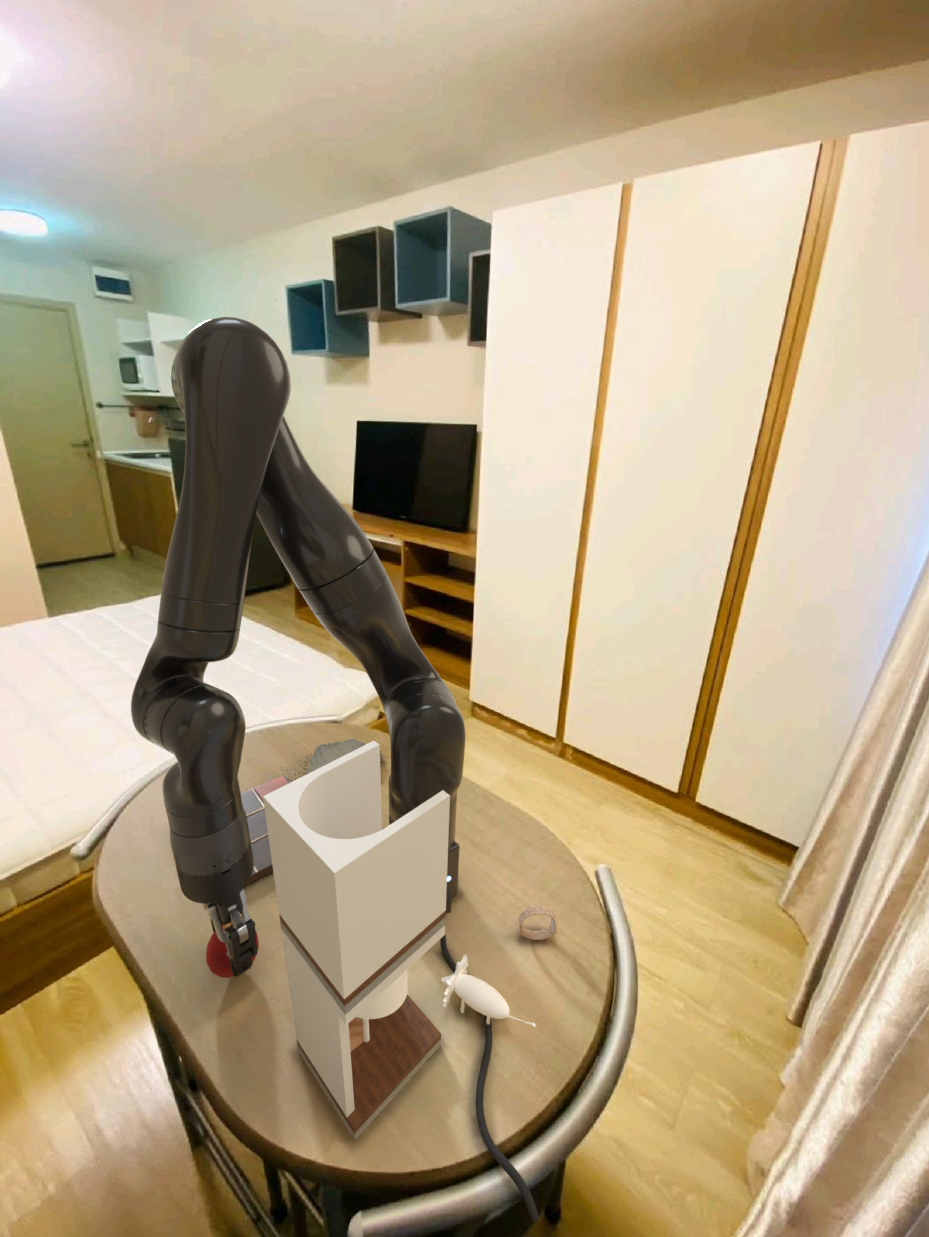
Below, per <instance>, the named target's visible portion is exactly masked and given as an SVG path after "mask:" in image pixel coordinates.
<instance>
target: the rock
mask: <svg viewBox="0 0 929 1237" xmlns="http://www.w3.org/2000/svg"><path fill="white" fill-rule="evenodd" d="M366 744H367V743H366V742H362V741H359V740H357V739H355V738H351V739H346V740H344V741H334V742H328V743H325V744H324V743H321V744H319V745H317V746H316V747H315V748H314V751H313V755H312V756H311V757H310V759H309V765H308V766H307V768H306V771H305V775H307V774H309V773H311V772H313V771H315V770H317V769H319V768H321V767H322V766H324V765H326V764H328V763H330V762H332V761H334V760H336V759H338V758H340V757H342V756H344V755H346V754H348V753H350V752H352V751H354V750H356V749H358V748H360V747H362V746H364V745H366ZM381 752H382V751H381V749H380V763H381V762H382V761H383V754H381Z"/></svg>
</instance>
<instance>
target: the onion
mask: <svg viewBox="0 0 929 1237" xmlns="http://www.w3.org/2000/svg"><path fill="white" fill-rule="evenodd" d="M231 925H232V922H230V923H228V924H226V925H221V927H222V929H225V928H227V927H229V926H231ZM256 941H257V949H258V950H257V952H258V951H259V947H260V943H259V935H258V933H257V931H256ZM226 952H227V950H226V946H225V943H224V942H221V941H220V940H219V938H218V937H217V934H216V931H215V932H213V933H212V934H211V935H210V937H209V940H208V942H207V944H206V951H205V962H206V964H207V967H208V968H209V970H210V972H211V973H212V974H213V975H215V976H217V977H219V978H225V979H231V978H235V977H234V976H233V974H232V971H231V967H230V962H229V957H227V954H226ZM258 953H259V952H258ZM256 957H257V955H255V956H254V957H252V963H254V961H255V959H256Z"/></svg>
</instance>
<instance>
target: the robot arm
mask: <svg viewBox="0 0 929 1237" xmlns="http://www.w3.org/2000/svg"><path fill="white" fill-rule="evenodd" d="M291 381H292V380H291V372H290V370H289V365H288V361H287V360H286V358H285V356H284V353H283V352H282V350H281V349H280V347H279V346H278V344H277V343H276V341H275V340H274V339H273V338H272V337H271V336H270V335H269V334H268V332H266V331H265V330H263V329H262V328H260V327H259V326H258V325H256V324H254V323H253V322H251V321H248V320H246V319H242V318H239V317H233V316H221V317H214V318H211V319H208V320H205V321H203V322H201V323H199V324H198V325H197V326H195V327H194V328H192V329H191V330H190V331H189V332H188V333H187V335H186V336H184V337H183V339H182V341H181V343H180V344H179V346H178V349H177V350H176V355H175V356H174V358H173V362H172V366H171V373H170V382H171V389H172V393H173V395H174V399H175V402H176V403H177V405H178V407H179V408H180V410H181V412H182V413H183V415H184V433H185V452H184V467H183V478H182V485H181V492H180V496H179V502H178V508H177V511H176V515H175V516H176V517H175V521H174V524H173V529H172V533H171V536H170V541H169V546H168V550H167V555H166V558H165V559H166V560H165V565H164V569H163V575H162V576H163V577H162V582H161V583H162V584H161V590H160V600H159V608H158V614H157V615H158V616H157V619H158V620H157V625H156V626H157V627H156V634H155V637H154V640H153V642H152V644H151V646H150V648H149V650H148V652H147V655H146V657H145V659H144V662H143V665H142V667H141V670H140V672H139V675H138V676H137V679H136V681H135V684H134V687H133V691H132V694H131V698H130V713H131V720H132V724H133V726H134V728H135V730H136V732H137V734H139V736H141V737H142V738H143V739H144V740H146V741H148V742H149V743H152V744H154V745H155V746H157V747H159V748H161V749H162V750H165V751H166V752H168V753H170V754H171V755H174V757H175V758H176V761H177V762H175V763H174V764H173V765H172V766H170V768H169V769H168V770H167V772H166V773H165V776H164V778H163V780H162V786H161V787H162V788H161V789H162V791H161V792H162V799H163V804H164V809H165V812H166V813H165V814H166V817H167V821H168V826H169V840H170V841H169V843H170V847H171V852H172V857H173V860H174V861H173V862H174V865H175V870H176V873H177V878H178V882H179V886H180V891H181V893H182V894H183V896H184V897H185V898H186V899H188V900H189V901H191V902H193V903H197V904H202V906H203V909H204V910H205V911H206V912H207V915H208V917H209V919H210V923H211V928H212V932H213V933H214V932H215V931H216V934H217V937H218V938H219V940H220V941H221V942H224V943H225V946H226V950H227V952H226V954H227V957H229V962H230V967H231V971H232V974H233V976H234V977H233V978H235V977H239V976H241V975H242V974H244V973H246V972H247V971H249V970H250V969H251V968H252V966H253V963H254V962H253V963H252V957H254V956H255V955H256V956H257V955H258V953H259V952H257V950H258V951H259V948H258V949H257V941H256V932H257V930H256V922H255V921H254V920H253V919H252V918H251V917H250V915H249V911H248V907H247V904H246V903H247V895H246V892H245V887H246V886H245V884H246V883H247V882H248V880H249V879H250V877H251V875H252V872H253V869H254V860H253V853H252V846H251V840H250V834H249V827H248V821H247V816H246V813H245V810H244V807H243V804H242V799H241V793H242V792H241V786H240V781H239V780H240V779H239V776H238V775H239V771H240V765H241V762H242V754H243V749H244V743H245V739H246V738H245V737H246V729H247V728H246V718H245V714H244V712H243V710H242V708H241V705H240V703H239V702H238V700H237V698H236V697H234V696H233V695H232V694H230V693H229V692H228V691H225V690H223V689H221V688H218V687H216V686H214V685H211V684H209V683H207V682H204V677H205V673H206V671H207V667H208V665H209V663H216V662H221V661H224V660H227V659H229V658H230V657H232V656H233V655H234V653H235V651H236V649H237V646H238V643H239V638H240V632H241V625H242V618H243V612H244V605H245V597H246V590H247V582H248V574H249V566H250V559H251V558H250V557H251V550H252V542H253V535H254V529H255V522H256V517H257V518H258V520H259V522H260V524H261V526H262V527H263V530H264V532H265V534H266V536H267V538H268V540H269V542H270V543H271V544H272V547H273V548H274V549H275V552H276V554H277V555H278V558H279V559H280V560H281V562H282V564H283V565H284V568H285V569H286V571H287V572H288V574H289V576H290V578H291V580H292V582H293V583H294V585H295V587H296V588H297V589H298V591H299V593H300V594H301V596H302V597H303V599H304V601H305V602H306V604H307V606H308V607H309V608H310V610H311V612H312V613H313V614H314V616H315V618H317V620H318V622H319V623H320V625H322V627H323V628H324V629H325V631H327V632H328V633H329V635H330V636H331V637H332V638H333V639H335V641H337V642H338V643H339V644H340V645H341V646H342V647H343V648H345V649H346V650H347V651H348V652H349V653H350V654H351V655H352V656H353V657H354V658H355V659H356V660H357V661H358V662H359V663H360V665H361V667H362V668H363V670H364V671H365V673H366V675H367V676H368V679H369V680H370V682H371V684H372V686H373V688H374V690H375V692H376V694H377V696H378V699H379V702H380V704H381V706H382V709H383V712H384V716H385V717H384V718H385V720H386V725H387V730H388V735H389V742H390V743H389V744H390V773H389V776H388V784H387V785H388V826H389V825H391V824H392V823H394V822H395V821H397V820H398V819H400V818H401V817H403V816H404V815H406V814H407V813H409V812H410V811H412V810H413V809H415V808H416V807H418V806H419V805H421V804H423V803H424V802H426V801H427V800H429V799H430V798H432V797H433V796H435V795H436V794H438V793H439V792H441V791H442V790H443V791H445V792H446V793H447V794H449V795H450V808H449V835H448V863H447V890H446V915H447V914H451V913H452V899H453V898H454V897H457V895H458V889H459V868H460V866H459V865H460V850H461V848H460V844H459V843H458V842H456V824H457V823H456V822H457V804H458V789H459V788H460V786H461V783H462V781H463V774H464V764H465V753H466V724H465V720H464V718H463V714H462V713H461V711H460V709H459V706H458V704H457V702H456V699H455V697H454V695H453V693H452V691H451V690H450V688H449V686H448V685H447V684H446V683H445V681H444V680H443V678H442V677H441V676H440V674H439V673H438V672H437V671H436V669H435V668H434V666H433V665H432V663H431V662H430V661H429V659H428V658H427V656H426V654H425V653H424V652H423V650H422V649H421V648H420V646H419V644H418V643H417V640H416V639H415V637H414V635H413V634H412V631H411V629H410V626H409V624H408V620H407V617H406V615H405V612H404V609H403V606H402V603H401V600H400V599H399V596H398V594H397V592H396V590H395V587H394V585H393V583H392V581H391V579H390V577H389V574H388V572H387V570H386V569H385V567H384V564H383V563H382V562H381V559H380V557H379V556H378V554H377V552H376V549H375V547H374V546H373V545H372V543H371V542H370V539H369V538H368V537H367V535H366V533H365V531H364V530H363V529H362V527H361V526H360V524H359V523H358V522H357V521H356V519H355V518H354V517H353V516H352V514H351V513H350V512H349V511H348V510H347V509H346V507H345V506H344V505H343V504H342V503H341V502H340V500H339V499H338V498H337V497H336V496H335V495H334V494H333V492H332V491H331V490H330V489H329V488H328V487H327V486H326V484H324V483H323V481H322V479H320V478H319V476H318V475H317V473H315V471H314V469H313V468H312V467H311V465H310V464H309V462H308V461H307V459H306V457H305V455H304V454H303V452H302V450H301V448H300V446H299V445H298V442H297V440H296V438H295V436H294V435H293V432H292V430H291V429H290V426H289V424H288V421H287V419H286V416H285V413H286V409H287V407H288V404H289V400H290V397H291V391H292V390H291V389H292V384H291V383H292V382H291ZM244 886H245V887H244ZM243 887H244V888H243ZM230 922H232V925H231V926H229V927H227V928H225V929H222V927H221V925H226V924H228V923H230ZM439 941H440V949H441V952H442V955H443V958H444V960H445V961H446V963H447V965H448V966H449V968H450V970H451V971H452V972H453V974H454V973H455V970H456V965H457V963H455V961H454V959H453V958H452V956H451V954H450V951H449V950H448V944H447V935H446V934H445V935H444V936H443V937H442V938H441V939H440V940H439ZM481 1015H482V1017H483V1023H484V1031H485V1037H484V1038H485V1039H484V1048H483V1053H482V1058H481V1062H480V1067H479V1072H478V1076H477V1083H476V1089H475V1115H476V1121H477V1126H478V1130H479V1133H480V1136H481V1139H482V1141H483V1144H484V1145H485V1147H486V1148H487V1150H488V1152H489V1154H490V1155H491V1156H492V1157H493V1159H494V1160H495V1162H497V1164H498V1165H499V1166H500V1167H501V1168H502V1170H503V1171H504V1172H505V1173H506V1175H508V1177H509V1178H510V1179H511V1180H512V1182H513V1183H514V1184H515V1186H516V1188H517V1189H518V1191H519V1193H520V1195H521V1196H522V1198H523V1201H524V1203H525V1206H526V1209H527V1212H528V1215H529V1218H530V1219H531V1220H532V1222H535V1223H536V1222H538V1220H539V1213H538V1209H537V1206H536V1203H535V1200H534V1197H533V1195H532V1193H531V1191H530V1189H529V1186H528V1185H527V1182H525V1179H524V1178H523V1176H522V1175H521V1173H519V1171H518V1170H517V1168H515V1166H514V1165H513V1164H512V1163H511V1161H510V1160H509V1159H507V1157H506V1156H505V1155H504V1154H503V1152H502V1151H501V1150H500V1149H499V1148H498V1146H497V1145H496V1143H495V1142H494V1139H493V1138H492V1136H491V1134H490V1132H489V1129H488V1126H487V1122H486V1117H485V1110H484V1092H485V1084H486V1079H487V1073H488V1068H489V1064H490V1059H491V1055H492V1054H491V1053H492V1047H493V1024H492V1020H491V1019H492V1018H490V1024H489V1025H487V1024H486V1020H487V1016H485V1015H483V1014H481Z"/></svg>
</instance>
